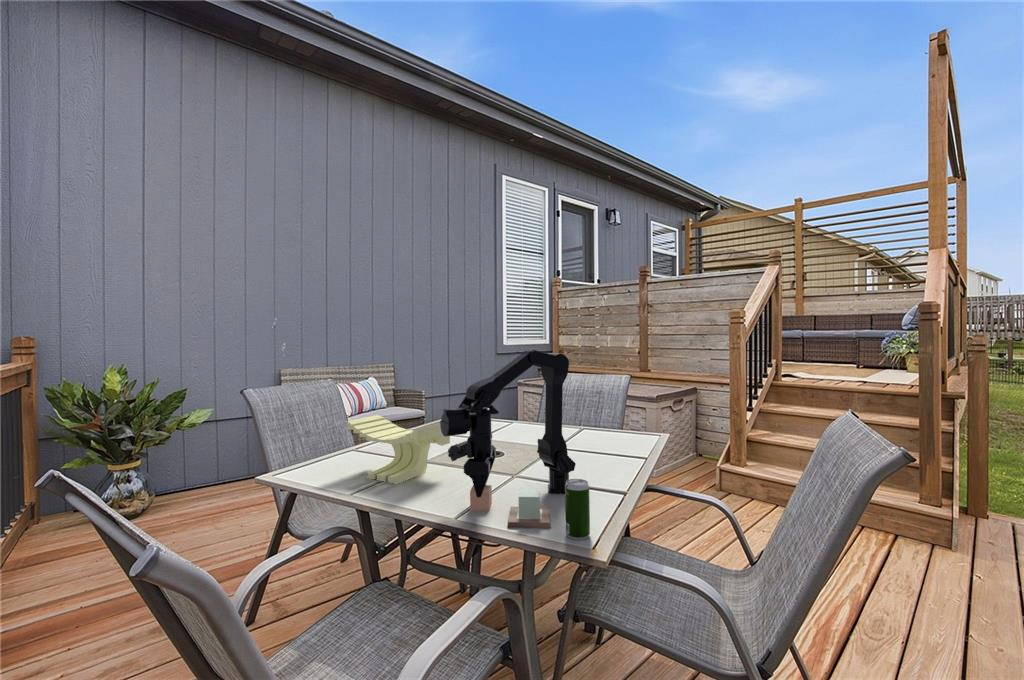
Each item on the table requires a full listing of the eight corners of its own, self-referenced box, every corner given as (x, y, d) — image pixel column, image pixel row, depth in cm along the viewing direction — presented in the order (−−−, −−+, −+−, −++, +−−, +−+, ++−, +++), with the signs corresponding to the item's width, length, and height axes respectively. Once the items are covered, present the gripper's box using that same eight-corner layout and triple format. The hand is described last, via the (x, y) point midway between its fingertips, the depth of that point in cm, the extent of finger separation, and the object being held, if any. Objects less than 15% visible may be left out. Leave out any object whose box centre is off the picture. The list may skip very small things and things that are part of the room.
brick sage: (539, 510, 114) (539, 490, 114) (539, 517, 109) (539, 497, 109) (519, 509, 115) (519, 489, 115) (518, 517, 110) (518, 496, 110)
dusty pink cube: (473, 503, 124) (473, 485, 124) (491, 503, 123) (491, 485, 123) (470, 510, 119) (470, 491, 119) (489, 510, 118) (489, 491, 118)
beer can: (573, 542, 99) (572, 487, 99) (561, 533, 104) (560, 480, 104) (594, 538, 101) (594, 483, 101) (581, 529, 106) (581, 477, 106)
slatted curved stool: (450, 474, 150) (449, 420, 150) (417, 488, 137) (416, 428, 137) (383, 463, 165) (383, 413, 165) (348, 474, 152) (347, 420, 151)
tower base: (510, 511, 117) (510, 506, 117) (549, 511, 117) (549, 506, 117) (507, 527, 107) (507, 521, 107) (550, 527, 107) (550, 522, 107)
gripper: (456, 425, 131) (457, 479, 131) (442, 439, 112) (443, 503, 112) (495, 425, 130) (496, 480, 130) (487, 439, 111) (488, 503, 111)
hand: (481, 491), depth 121 cm, fingers open, 9 cm apart
